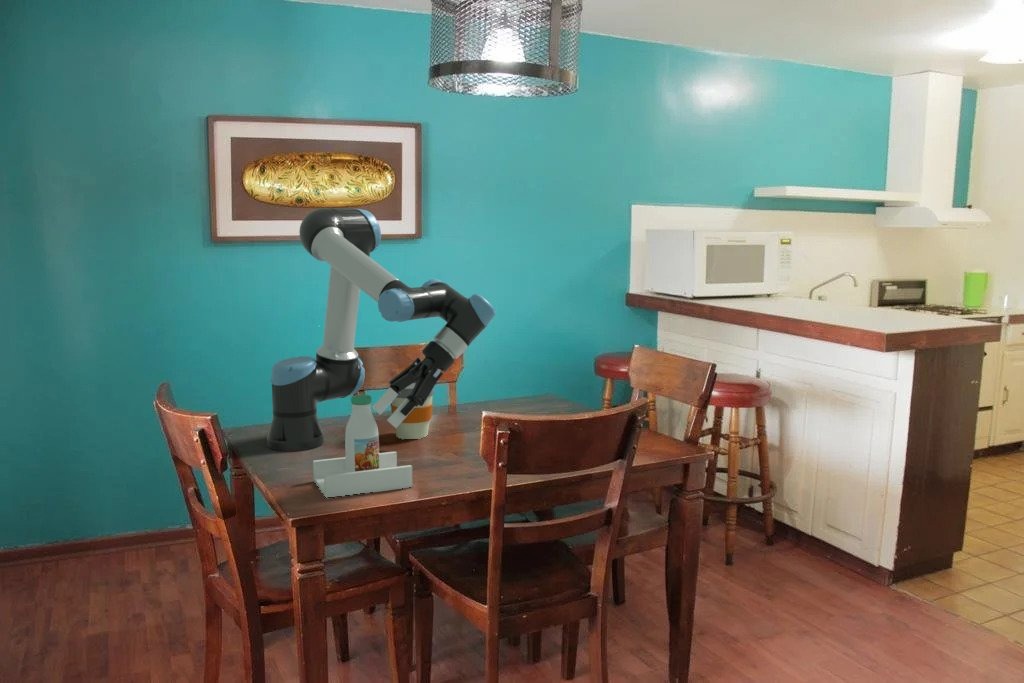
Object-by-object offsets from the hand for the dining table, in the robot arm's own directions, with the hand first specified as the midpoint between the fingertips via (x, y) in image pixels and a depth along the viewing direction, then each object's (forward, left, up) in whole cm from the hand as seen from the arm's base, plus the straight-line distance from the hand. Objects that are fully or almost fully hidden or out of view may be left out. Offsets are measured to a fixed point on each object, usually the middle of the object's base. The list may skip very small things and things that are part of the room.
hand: (383, 417), depth 191 cm
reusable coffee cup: (-38, +19, -16) cm, 45 cm away
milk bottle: (-1, -5, -15) cm, 16 cm away
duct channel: (-1, -5, -16) cm, 16 cm away
